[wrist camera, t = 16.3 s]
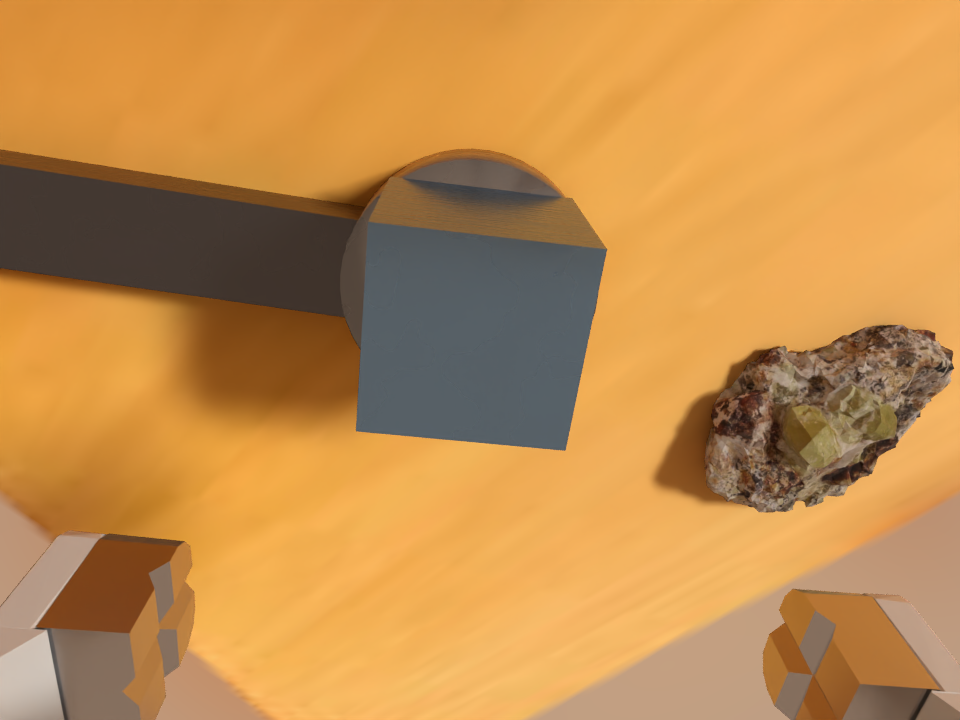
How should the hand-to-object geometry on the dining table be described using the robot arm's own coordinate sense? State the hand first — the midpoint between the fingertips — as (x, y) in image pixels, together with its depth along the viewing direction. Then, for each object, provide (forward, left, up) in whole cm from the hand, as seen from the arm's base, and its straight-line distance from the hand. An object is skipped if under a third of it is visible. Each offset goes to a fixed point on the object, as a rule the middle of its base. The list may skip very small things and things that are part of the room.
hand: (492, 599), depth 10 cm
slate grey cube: (0, +1, -16) cm, 16 cm away
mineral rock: (-15, +6, -19) cm, 25 cm away
